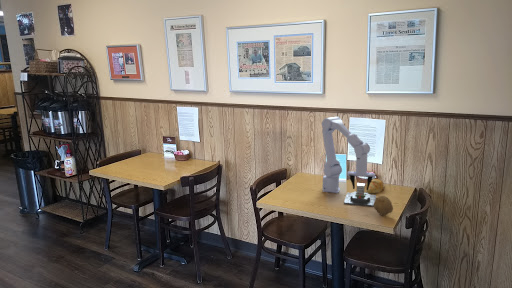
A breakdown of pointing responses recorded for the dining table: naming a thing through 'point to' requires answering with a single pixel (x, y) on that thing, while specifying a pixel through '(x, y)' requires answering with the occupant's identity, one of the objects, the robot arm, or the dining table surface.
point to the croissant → (374, 186)
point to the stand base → (360, 199)
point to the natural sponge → (383, 205)
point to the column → (360, 189)
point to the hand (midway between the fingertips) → (360, 189)
